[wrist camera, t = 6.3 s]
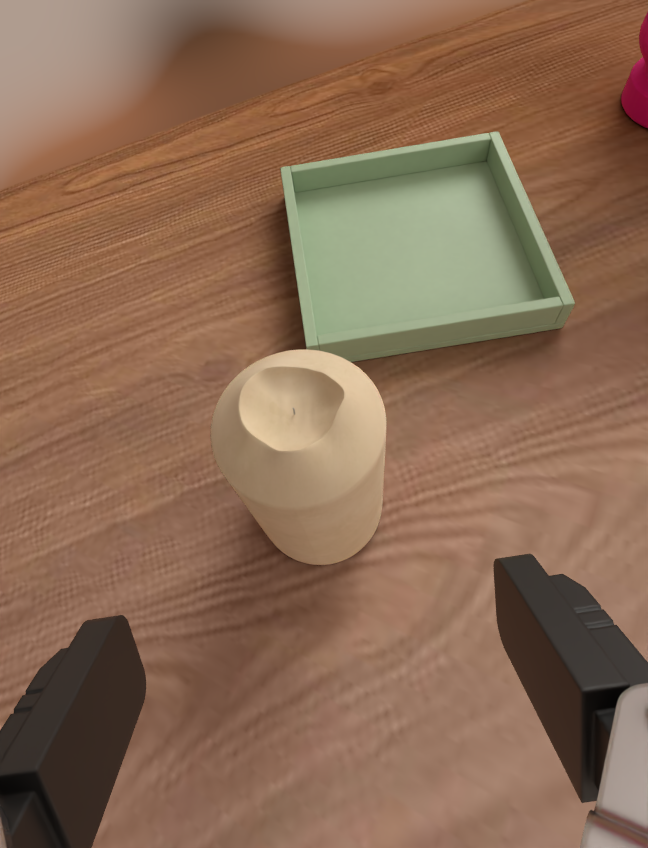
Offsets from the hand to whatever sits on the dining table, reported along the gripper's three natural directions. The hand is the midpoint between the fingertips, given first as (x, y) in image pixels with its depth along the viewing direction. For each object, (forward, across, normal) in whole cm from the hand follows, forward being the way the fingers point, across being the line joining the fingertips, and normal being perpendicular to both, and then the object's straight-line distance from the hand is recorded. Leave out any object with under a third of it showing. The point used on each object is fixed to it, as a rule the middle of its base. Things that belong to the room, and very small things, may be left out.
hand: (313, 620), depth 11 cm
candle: (+12, 0, +4) cm, 13 cm away
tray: (+22, -7, -6) cm, 24 cm away
